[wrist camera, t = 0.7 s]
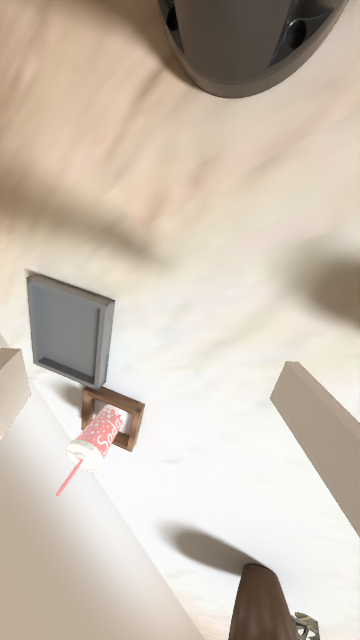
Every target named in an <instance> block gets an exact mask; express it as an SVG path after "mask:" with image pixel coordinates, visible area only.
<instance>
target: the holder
mask: <svg viewBox="0 0 360 640" xmlns="http://www.w3.org/2000/svg"><path fill="white" fill-rule="evenodd" d="M94 398H95V399H98V400H100V401H102V402H105V403H107V404H109V405H112V406H114V407H117V408H119V409H121V410H124V411H126V412H128V413H131V414H133V415H134V418H133V422H132V427H131V432H130V437H129V436H127V435H125V434H123V433H120V432H118V433H117V435H116V436H115V438H114V440H113V442H112V444H114V445H117V446H119V447H121V448H123V449H125V450H128V451H130V452H132V450H133V448H134V446H135V444H136V441H137V437H138V432H139V428H140V424H141V420H142V416H143V411H144V407H145V404H143V403H140V402H138V401H135V400H133V399H130V398H128V397H126V396H123V395H121V394H118V393H116V392H114V391H111V390H109V389H106V388H104V387H101V388H100V389H99V390H96V389H93V388H91V387H88V386H86V387H85V388H84V389H83V406H82V426H81V430H84V429H85V428H86V427H87V426H88V425H89V424H90V422H91V421H92V419H93V407H94Z"/></svg>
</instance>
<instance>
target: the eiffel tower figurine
mask: <svg viewBox="0 0 360 640" xmlns="http://www.w3.org/2000/svg"><path fill="white" fill-rule="evenodd" d="M295 616H296V617H297V618H295V617H294V616H292V615H291V619H292V622H293V625H294V629H295V632H296V636H297V639H298V640H306V638H307V635H308V632H309V629H310V630H311V631H312V632H314V633H315V634H316V635H315V636H314V637H308V638H310V640H320V636H319V629H318V622H317V621H316V620H314V619H313V618H311V617H309V616H308V615H305V614H303V613H299V612H295ZM299 629H304V632H303V634H302V635H300V634H299V633H298V630H299Z"/></svg>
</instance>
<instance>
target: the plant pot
mask: <svg viewBox="0 0 360 640" xmlns="http://www.w3.org/2000/svg"><path fill="white" fill-rule="evenodd" d="M228 640H298V639H297V636H296V632H295V629H294V625H293V622H292V619H291V615H290V612H289V609H288V606H287V603H286V600H285V597H284V594H283V591H282V588H281V585H280V582H279V580H278V577H277V576H276V574H275V573H273V572H272V571H271V570H269V569H267V568H265V567H262V566H259V565H246V566H245V567H244V569H243V572H242V576H241V580H240V583H239V587H238V591H237V595H236V600H235V605H234V609H233V615H232V620H231V626H230V632H229V638H228Z"/></svg>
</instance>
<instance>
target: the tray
mask: <svg viewBox="0 0 360 640" xmlns="http://www.w3.org/2000/svg"><path fill="white" fill-rule="evenodd" d="M26 278H27V290H28V303H29V315H30V327H31V339H32V351H33V363H34V364H36V365H38V366H41V367H43V368H45V369H48V370H50V371H53V372H55V373H57V374H60V375H62V376H64V377H67V378H69V379H72V380H74V381H76V382H79V383H81V384H84V385H86V386H88V387H91V388H93V389H96V390H99V389H100V388H101V387H102V386H103V384H104V383H105V382H106V376H107V367H108V358H109V349H110V340H111V331H112V323H113V314H114V305H115V301H114V300H111V299H109V298H106V297H103V296H100V295H97V294H94V293H91V292H88V291H86V290H83V289H80V288H77V287H74V286H71V285H68V284H65V283H62V282H60V281H57V280H54V279H51V278H48V277H45V276H42V275H36V276H31V277H26Z"/></svg>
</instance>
